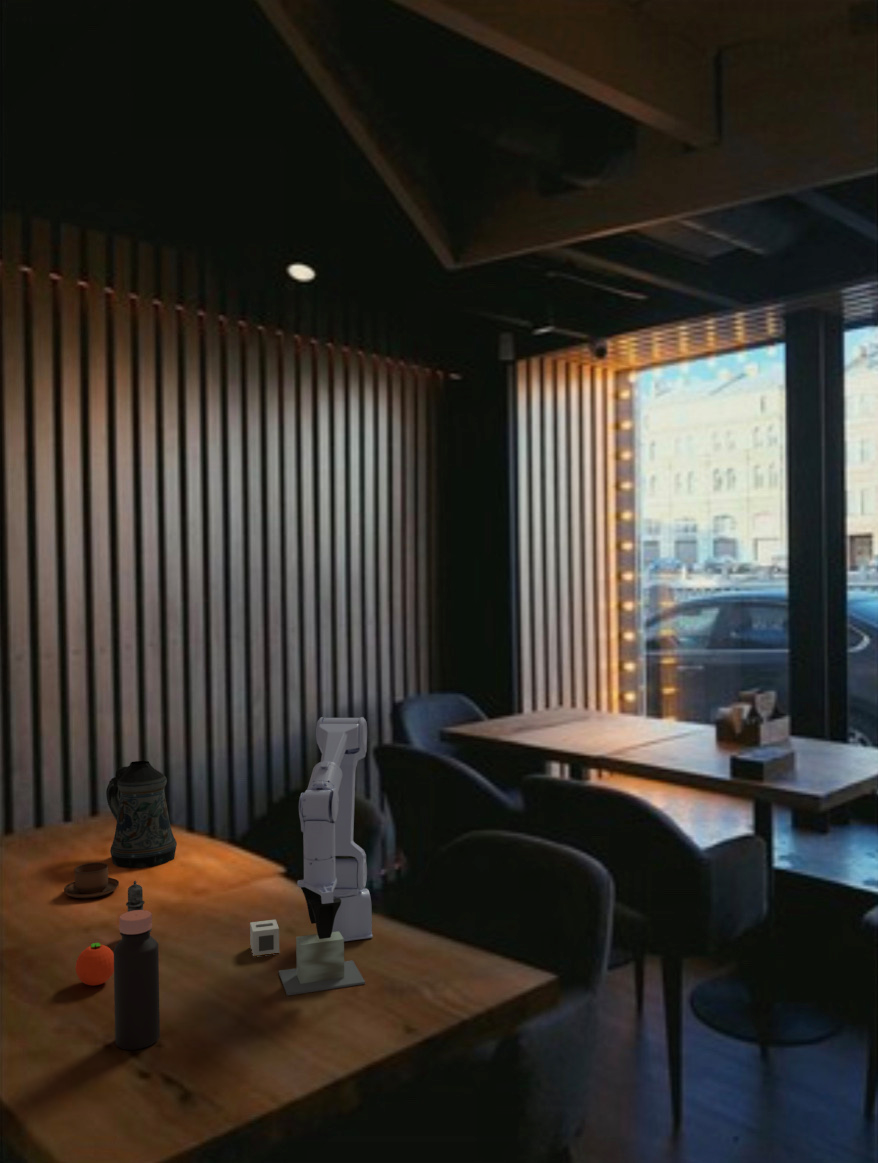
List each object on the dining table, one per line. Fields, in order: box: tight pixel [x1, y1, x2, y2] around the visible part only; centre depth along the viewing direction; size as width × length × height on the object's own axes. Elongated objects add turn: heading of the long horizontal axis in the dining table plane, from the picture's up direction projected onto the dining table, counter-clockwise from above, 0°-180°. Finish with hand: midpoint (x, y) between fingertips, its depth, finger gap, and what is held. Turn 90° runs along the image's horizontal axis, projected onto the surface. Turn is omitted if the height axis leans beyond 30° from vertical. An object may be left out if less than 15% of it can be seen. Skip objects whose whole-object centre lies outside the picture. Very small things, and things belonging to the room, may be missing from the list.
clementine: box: [75, 942, 114, 987], centre depth 173 cm, size 8×7×7 cm
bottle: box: [113, 909, 161, 1051], centre depth 152 cm, size 7×7×20 cm
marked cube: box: [249, 919, 280, 957], centre depth 187 cm, size 5×5×5 cm
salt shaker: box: [125, 880, 145, 912], centre depth 193 cm, size 6×6×12 cm
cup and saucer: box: [63, 862, 120, 899], centre depth 222 cm, size 12×12×6 cm
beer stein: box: [105, 760, 178, 869], centre depth 248 cm, size 16×19×25 cm
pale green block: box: [295, 931, 345, 984], centre depth 174 cm, size 8×4×7 cm, turn 108°
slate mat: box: [278, 960, 366, 996], centre depth 174 cm, size 14×10×1 cm
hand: (320, 930), depth 174 cm, fingers open, 7 cm apart
